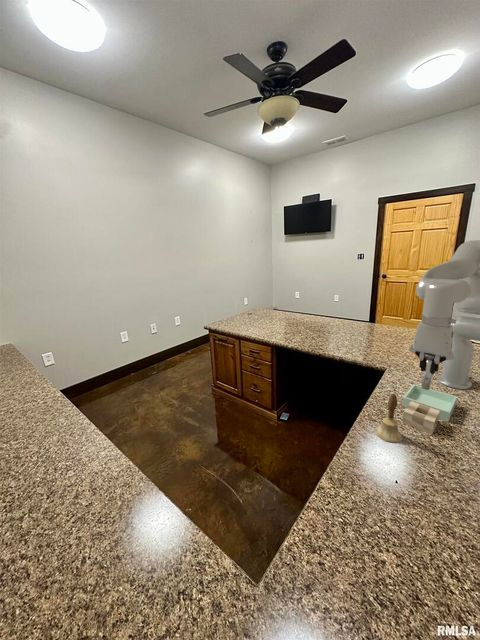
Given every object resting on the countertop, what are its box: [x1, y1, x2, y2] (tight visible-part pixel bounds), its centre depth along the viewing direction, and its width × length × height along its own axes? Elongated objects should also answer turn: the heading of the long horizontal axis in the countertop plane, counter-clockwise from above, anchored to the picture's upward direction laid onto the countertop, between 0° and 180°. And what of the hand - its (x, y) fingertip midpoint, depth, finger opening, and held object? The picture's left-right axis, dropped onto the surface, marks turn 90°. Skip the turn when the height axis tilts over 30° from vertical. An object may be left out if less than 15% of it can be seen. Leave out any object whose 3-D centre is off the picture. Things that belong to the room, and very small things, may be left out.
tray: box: [401, 383, 458, 423], centre depth 103 cm, size 14×15×4 cm
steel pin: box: [421, 353, 435, 390], centre depth 89 cm, size 4×4×13 cm
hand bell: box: [374, 393, 403, 444], centre depth 87 cm, size 8×8×16 cm
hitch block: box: [401, 401, 440, 435], centre depth 94 cm, size 9×9×5 cm
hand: (428, 371), depth 89 cm, fingers closed on steel pin, 2 cm apart
